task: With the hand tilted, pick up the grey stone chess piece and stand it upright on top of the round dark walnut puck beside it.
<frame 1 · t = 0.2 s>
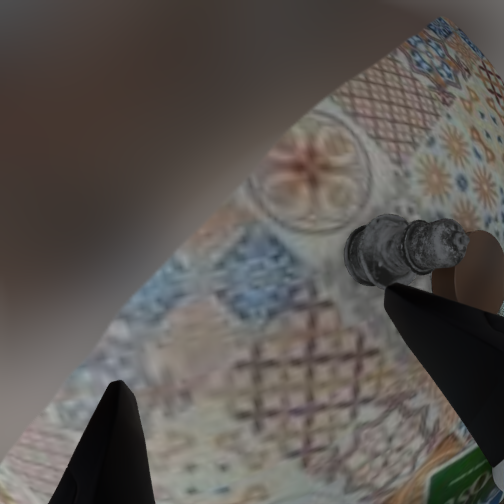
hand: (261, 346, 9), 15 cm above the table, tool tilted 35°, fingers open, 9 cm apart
grey stone chess piece: (370, 255, 26), on the table
walnut puck: (461, 277, 27), on the table
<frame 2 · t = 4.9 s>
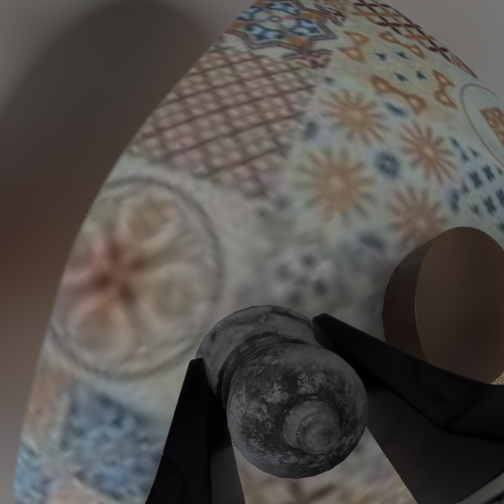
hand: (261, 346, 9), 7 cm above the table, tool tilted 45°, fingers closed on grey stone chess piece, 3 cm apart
grey stone chess piece: (259, 369, 15), on the table, touching gripper
walnut puck: (443, 314, 16), on the table
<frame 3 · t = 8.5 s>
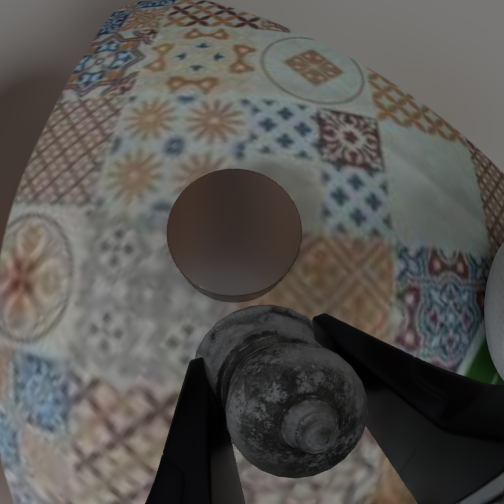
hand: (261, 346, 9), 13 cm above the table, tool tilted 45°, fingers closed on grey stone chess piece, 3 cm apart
grey stone chess piece: (259, 368, 15), point 7 cm above the table, touching gripper
walnut puck: (234, 243, 24), on the table
when the fingers open (10 cm above the table, at t = 12.2 s): grey stone chess piece stays where it is, resting on walnut puck.
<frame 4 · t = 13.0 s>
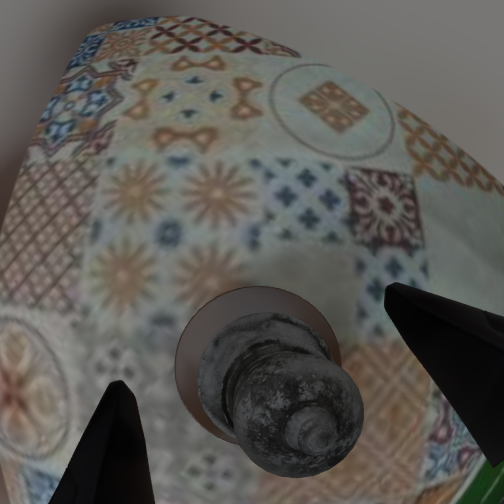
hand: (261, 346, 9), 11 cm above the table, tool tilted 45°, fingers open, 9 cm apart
grey stone chess piece: (260, 372, 16), point 3 cm above the table, touching walnut puck
walnut puck: (255, 364, 19), on the table, touching grey stone chess piece
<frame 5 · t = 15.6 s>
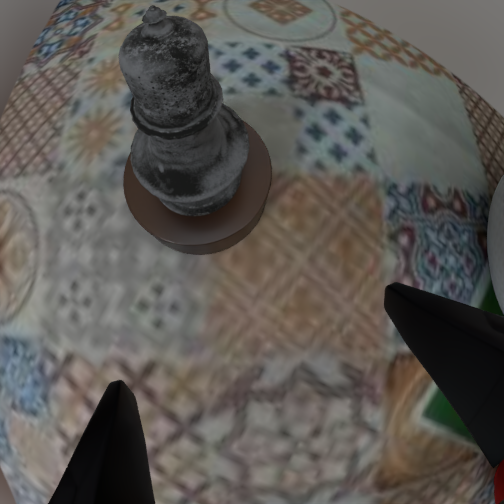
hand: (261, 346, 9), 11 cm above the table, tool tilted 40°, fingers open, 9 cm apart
grey stone chess piece: (196, 174, 18), point 3 cm above the table, touching walnut puck
walnut puck: (201, 190, 21), on the table, touching grey stone chess piece
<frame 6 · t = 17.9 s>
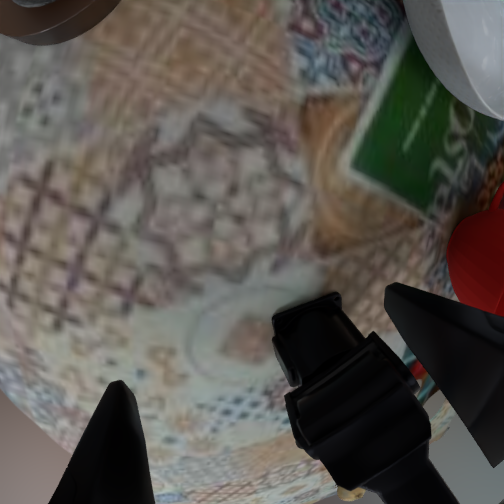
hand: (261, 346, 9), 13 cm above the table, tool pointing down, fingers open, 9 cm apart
onion: (346, 479, 62), on the table
ceramic cup: (464, 226, 29), on the table
cereal bowl: (440, 22, 18), on the table
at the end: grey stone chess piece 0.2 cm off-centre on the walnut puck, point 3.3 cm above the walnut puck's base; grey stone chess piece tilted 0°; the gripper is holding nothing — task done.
